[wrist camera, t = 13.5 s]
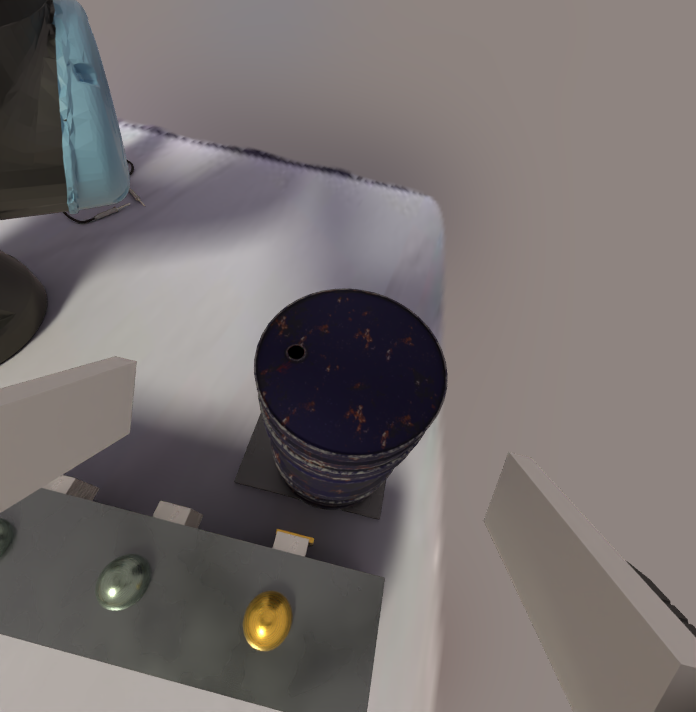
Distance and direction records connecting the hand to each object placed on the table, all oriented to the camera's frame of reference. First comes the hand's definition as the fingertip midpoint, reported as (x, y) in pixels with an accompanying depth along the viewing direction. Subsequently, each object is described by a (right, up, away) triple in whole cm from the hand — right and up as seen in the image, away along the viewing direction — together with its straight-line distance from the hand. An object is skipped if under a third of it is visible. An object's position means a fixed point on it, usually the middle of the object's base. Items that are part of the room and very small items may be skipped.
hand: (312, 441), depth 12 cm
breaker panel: (-9, -6, +16) cm, 20 cm away
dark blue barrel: (0, -5, +18) cm, 19 cm away
